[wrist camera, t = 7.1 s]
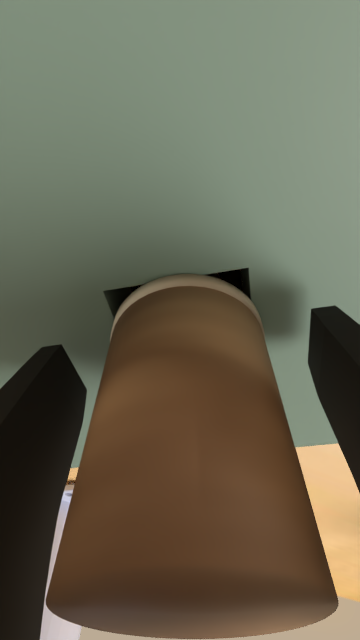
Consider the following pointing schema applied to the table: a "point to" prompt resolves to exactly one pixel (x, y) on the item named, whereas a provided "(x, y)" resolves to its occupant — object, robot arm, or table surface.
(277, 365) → the board
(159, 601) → the peg
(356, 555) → the table surface
